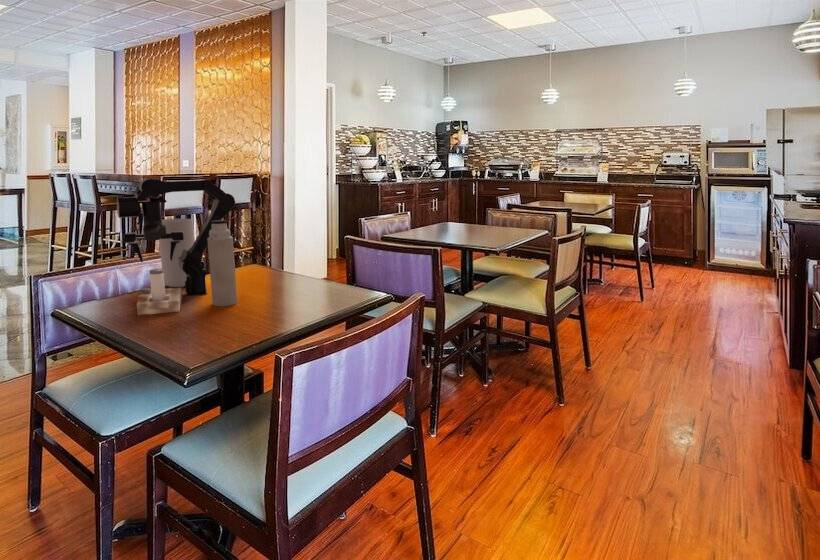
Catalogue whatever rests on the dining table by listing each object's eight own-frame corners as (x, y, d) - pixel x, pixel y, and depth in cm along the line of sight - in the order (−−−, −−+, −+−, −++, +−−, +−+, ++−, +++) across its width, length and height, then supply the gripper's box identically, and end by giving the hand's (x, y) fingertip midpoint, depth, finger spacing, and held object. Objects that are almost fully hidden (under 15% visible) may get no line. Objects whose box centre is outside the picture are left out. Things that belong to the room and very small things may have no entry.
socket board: (181, 297, 191) (180, 283, 190) (179, 311, 172) (178, 296, 171) (144, 300, 187) (142, 286, 186) (137, 315, 168) (136, 299, 167)
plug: (167, 307, 177) (163, 268, 175) (166, 310, 174) (162, 270, 171) (153, 308, 176) (149, 269, 173) (152, 311, 172) (148, 271, 170)
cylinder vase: (201, 280, 218) (196, 218, 213) (193, 287, 206) (187, 221, 201) (169, 281, 217) (163, 218, 211) (159, 288, 205) (152, 222, 199)
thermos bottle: (222, 299, 188) (216, 218, 182) (242, 301, 185) (236, 219, 179) (207, 305, 180) (200, 221, 174) (227, 307, 178) (221, 221, 172)
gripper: (118, 219, 173) (123, 267, 177) (181, 217, 180) (185, 263, 183) (122, 216, 184) (127, 261, 187) (182, 214, 190) (186, 258, 193)
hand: (156, 261), depth 187 cm, fingers open, 9 cm apart
